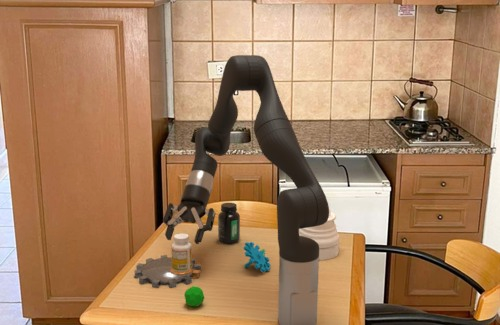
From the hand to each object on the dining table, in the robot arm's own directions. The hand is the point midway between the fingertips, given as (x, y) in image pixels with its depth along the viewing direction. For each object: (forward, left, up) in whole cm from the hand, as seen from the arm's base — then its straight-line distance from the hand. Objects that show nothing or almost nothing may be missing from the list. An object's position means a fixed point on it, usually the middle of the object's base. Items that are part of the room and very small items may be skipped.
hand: (182, 241), depth 175 cm
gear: (-2, -21, -10) cm, 23 cm away
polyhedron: (-19, 0, -10) cm, 22 cm away
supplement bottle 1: (-1, 0, -8) cm, 8 cm away
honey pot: (+5, -42, -10) cm, 43 cm away
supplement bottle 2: (+20, -18, -10) cm, 29 cm away
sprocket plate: (+1, +4, -10) cm, 11 cm away
